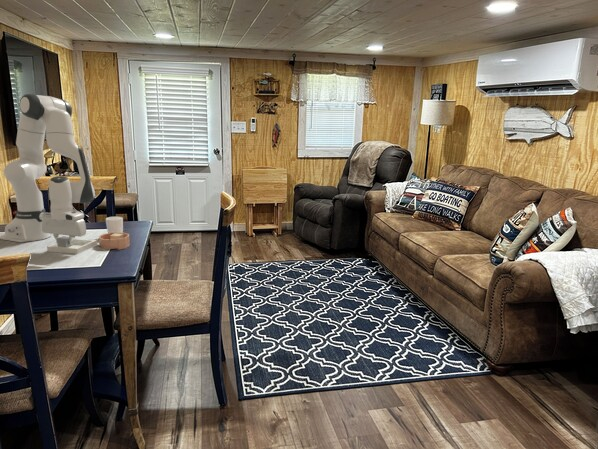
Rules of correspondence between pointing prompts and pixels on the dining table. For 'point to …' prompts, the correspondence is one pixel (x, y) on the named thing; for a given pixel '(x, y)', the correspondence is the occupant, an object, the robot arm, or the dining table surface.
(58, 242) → the grey cube
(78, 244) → the parts tray
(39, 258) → the dining table surface
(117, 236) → the tan cube
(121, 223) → the white cup
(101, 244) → the bowl
